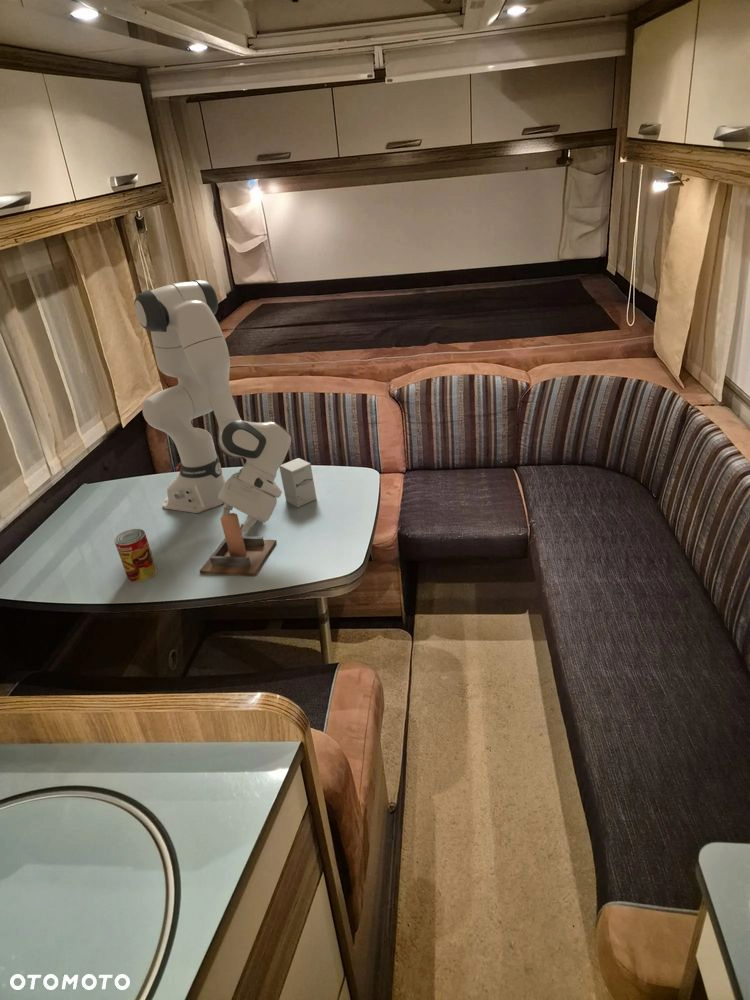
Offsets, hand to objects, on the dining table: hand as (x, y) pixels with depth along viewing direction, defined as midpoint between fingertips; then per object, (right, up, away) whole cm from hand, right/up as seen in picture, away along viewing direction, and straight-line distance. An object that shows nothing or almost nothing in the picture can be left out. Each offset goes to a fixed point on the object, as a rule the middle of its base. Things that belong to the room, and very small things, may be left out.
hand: (233, 526), depth 172 cm
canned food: (-25, -13, +3) cm, 29 cm away
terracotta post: (+1, -8, +4) cm, 9 cm away
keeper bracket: (+1, -9, +4) cm, 10 cm away
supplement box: (+15, +7, +31) cm, 35 cm away
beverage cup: (+2, +3, +27) cm, 27 cm away
